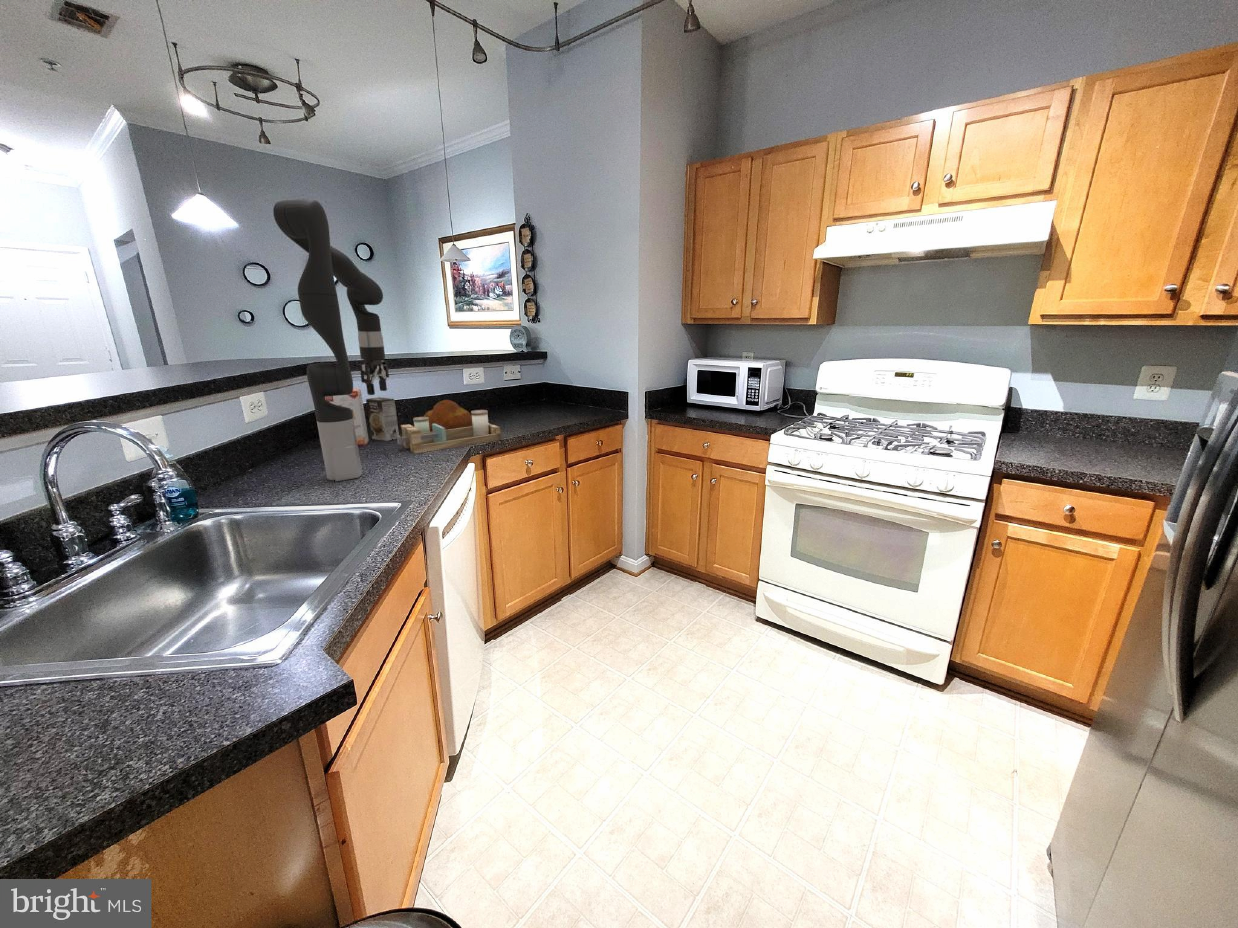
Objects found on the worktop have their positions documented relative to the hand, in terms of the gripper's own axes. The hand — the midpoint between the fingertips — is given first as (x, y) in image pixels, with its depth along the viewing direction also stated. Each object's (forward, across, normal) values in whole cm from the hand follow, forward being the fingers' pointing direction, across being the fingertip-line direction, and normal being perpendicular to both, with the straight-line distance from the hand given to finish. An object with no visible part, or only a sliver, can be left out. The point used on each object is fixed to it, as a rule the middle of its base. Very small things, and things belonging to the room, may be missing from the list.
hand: (377, 392), depth 168 cm
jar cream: (+20, +18, -30) cm, 41 cm away
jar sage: (+21, +16, -7) cm, 28 cm away
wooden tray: (+21, +11, -21) cm, 31 cm away
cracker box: (+22, +9, +19) cm, 31 cm away
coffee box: (+22, +20, +9) cm, 31 cm away
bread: (+22, +40, -9) cm, 46 cm away
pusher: (+20, +3, -12) cm, 24 cm away
